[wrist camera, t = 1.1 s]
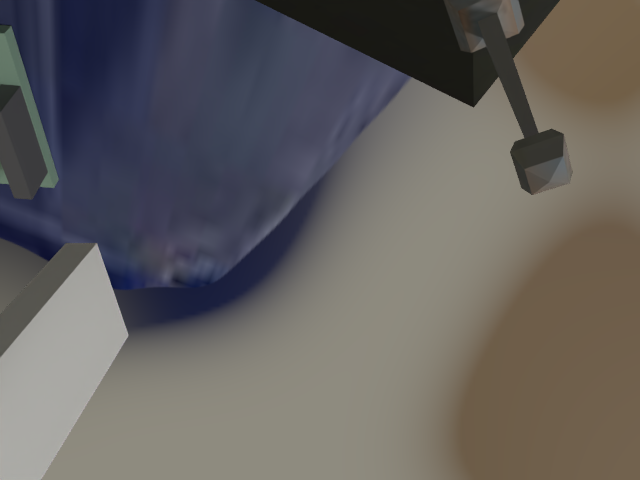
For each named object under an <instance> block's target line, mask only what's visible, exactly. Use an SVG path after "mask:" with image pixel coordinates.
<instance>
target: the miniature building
mask: <svg viewBox="0 0 640 480" xmlns="http://www.w3.org/2000/svg"><path fill="white" fill-rule="evenodd" d="M256 1H258V2H260V3H262V4H264V5H266V6H268V7H270V8H272V9H274V10H276V11H278V12H280V13H282V14H284V15H286V16H288V17H290V18H292V19H295V20H297V21H299V22H301V23H303V24H305V25H307V26H309V27H311V28H313V29H315V30H317V31H319V32H321V33H323V34H325V35H327V36H329V37H331V38H333V39H335V40H337V41H339V42H341V43H343V44H345V45H347V46H349V47H352V48H354V49H356V50H358V51H360V52H362V53H364V54H366V55H368V56H370V57H372V58H374V59H376V60H378V61H380V62H382V63H384V64H386V65H388V66H390V67H392V68H394V69H396V70H398V71H400V72H402V73H404V74H406V75H409V76H411V77H413V78H415V79H417V80H419V81H421V82H423V83H425V84H427V85H429V86H431V87H433V88H435V89H437V90H439V91H441V92H443V93H445V94H447V95H449V96H451V97H453V98H455V99H458V100H460V101H462V102H464V103H466V104H468V105H470V106H472V107H474V106H475V105H476V104H477V103H478V101H479V100H480V99H481V98H482V96H483V95H484V94H485V93H486V91H487V90H488V89H489V88H490V87H491V85H492V84H493V83H494V82H495V80H496V79H497V78H498V77H499V78H500V80H501V83H502V85H503V87H504V90H505V92H506V95H507V97H508V99H509V102H510V104H511V106H512V109H513V111H514V114H515V116H516V119H517V121H518V123H519V126H520V128H521V130H522V133H523V135H524V139H521V140H518V141H516V142H514V145H513V147H512V149H511V151H510V153H511V156H512V159H513V163H514V166H515V169H516V172H517V175H518V178H519V181H520V185H521V188H522V189H524V190H525V191H527V192H528V193H530V194H531V195H534V194H537V193H540V192H543V191H546V190H549V189H553V188H556V187H559V186H562V185H565V184H568V183H570V180H571V176H572V167H571V163H570V159H569V154H568V150H567V146H566V142H565V137H564V134H562V133H560V132H558V131H556V130H553V129H550V130H547V131H544V132H541V133H538V130H537V127H536V124H535V121H534V118H533V116H532V113H531V110H530V107H529V104H528V101H527V99H526V95H525V92H524V89H523V87H522V84H521V81H520V78H519V75H518V72H517V69H516V67H515V63H514V60H513V58H514V57H515V55H516V54H517V53H518V52H519V50H520V49H521V48H522V47H523V45H524V44H525V43H526V41H527V40H528V39H529V38H530V37H531V36H532V34H533V33H534V32H535V31H536V29H537V28H538V27H539V25H540V24H541V23H542V22H543V21H544V19H545V18H546V17H547V16H548V14H549V13H550V12H551V11H552V9H553V8H554V7H555V6H556V4H557V3H558V2H559V1H560V0H256Z"/></svg>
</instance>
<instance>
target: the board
mask: <svg viewBox="0 0 640 480" xmlns="http://www.w3.org/2000/svg"><path fill="white" fill-rule="evenodd" d="M57 181H58V176H57V172H56V169H55V166H54V163H53V159H52V156H51V153H50V150H49V146H48V143H47V140H46V137H45V134H44V130H43V127H42V124H41V121H40V117H39V114H38V111H37V108H36V104H35V101H34V98H33V95H32V91H31V88H30V85H29V82H28V79H27V75H26V72H25V69H24V66H23V62H22V59H21V56H20V53H19V49H18V46H17V43H16V40H15V36H14V33H13V30H12V27H11V26H6V25H0V183H2V184H9V185H10V188H11V190H12V193H13V196H14V198H20V199H33V197H34V196H35V194H36V192H37V190H38V189H39V187H50V188H54V187H55V185H56V183H57Z"/></svg>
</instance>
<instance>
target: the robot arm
mask: <svg viewBox="0 0 640 480" xmlns="http://www.w3.org/2000/svg"><path fill="white" fill-rule="evenodd" d="M127 337H128V332H127V330H126V327H125V324H124V321H123V318H122V315H121V312H120V309H119V306H118V304H117V301H116V298H115V295H114V292H113V289H112V286H111V283H110V280H109V277H108V274H107V271H106V269H105V266H104V263H103V260H102V257H101V254H100V251H99V248H98V245H97V243H66V244H65V245H64V246H63V247H62V248H61V249H60V250H59V251H58V253H57V254H56V255H55V256H54V257H53V258H52V259H51V260H50V261H49V262H48V263H47V264H46V266H45V267H44V268H43V269H42V270H41V271H40V272H39V273H38V274H37V275H36V276H35V277H34V279H33V280H32V281H31V282H30V283H29V284H28V285H27V286H26V287H25V288H24V289H23V290H22V291H21V292H20V294H19V295H18V296H17V297H16V298H15V299H14V300H13V301H12V302H11V303H10V304H9V305H8V306H7V308H6V309H5V310H4V311H3V312H2V313H1V314H0V480H41V479H42V477H43V476H44V474H45V472H46V471H47V469H48V468H49V466H50V464H51V463H52V461H53V459H54V458H55V456H56V454H57V453H58V451H59V449H60V448H61V446H62V444H63V443H64V441H65V439H66V438H67V436H68V435H69V433H70V431H71V430H72V428H73V426H74V425H75V423H76V421H77V420H78V418H79V416H80V415H81V413H82V411H83V410H84V408H85V407H86V405H87V403H88V402H89V400H90V398H91V397H92V395H93V393H94V391H95V390H96V388H97V387H98V385H99V383H100V382H101V380H102V378H103V377H104V375H105V373H106V372H107V370H108V368H109V367H110V365H111V364H112V362H113V360H114V359H115V357H116V355H117V354H118V352H119V350H120V349H121V347H122V345H123V344H124V342H125V341H126V339H127Z"/></svg>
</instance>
